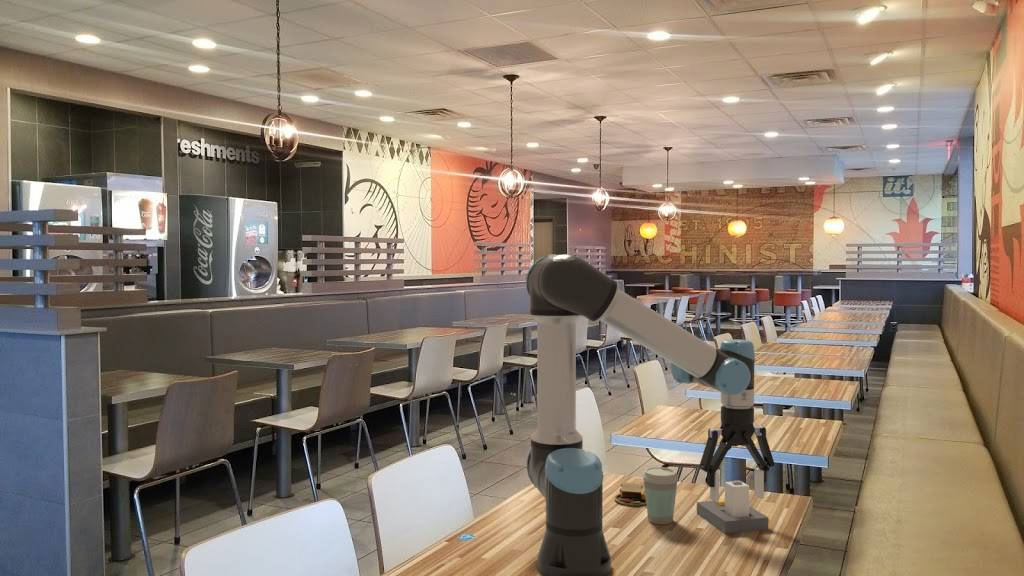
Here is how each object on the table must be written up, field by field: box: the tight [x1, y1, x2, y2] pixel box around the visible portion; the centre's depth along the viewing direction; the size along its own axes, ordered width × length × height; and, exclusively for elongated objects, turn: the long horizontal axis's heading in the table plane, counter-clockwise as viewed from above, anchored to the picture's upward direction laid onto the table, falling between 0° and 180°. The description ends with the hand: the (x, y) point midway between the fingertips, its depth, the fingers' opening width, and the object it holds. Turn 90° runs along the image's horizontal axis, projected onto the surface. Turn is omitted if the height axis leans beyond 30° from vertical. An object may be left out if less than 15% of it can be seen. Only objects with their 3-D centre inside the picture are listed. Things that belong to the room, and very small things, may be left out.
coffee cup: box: [642, 466, 680, 525], centre depth 179 cm, size 8×9×12 cm
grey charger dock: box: [696, 498, 769, 535], centre depth 177 cm, size 11×14×4 cm
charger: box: [724, 480, 750, 518], centre depth 175 cm, size 4×4×11 cm
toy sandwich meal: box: [613, 482, 646, 507], centre depth 194 cm, size 9×10×4 cm
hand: (736, 498), depth 175 cm, fingers open, 11 cm apart
